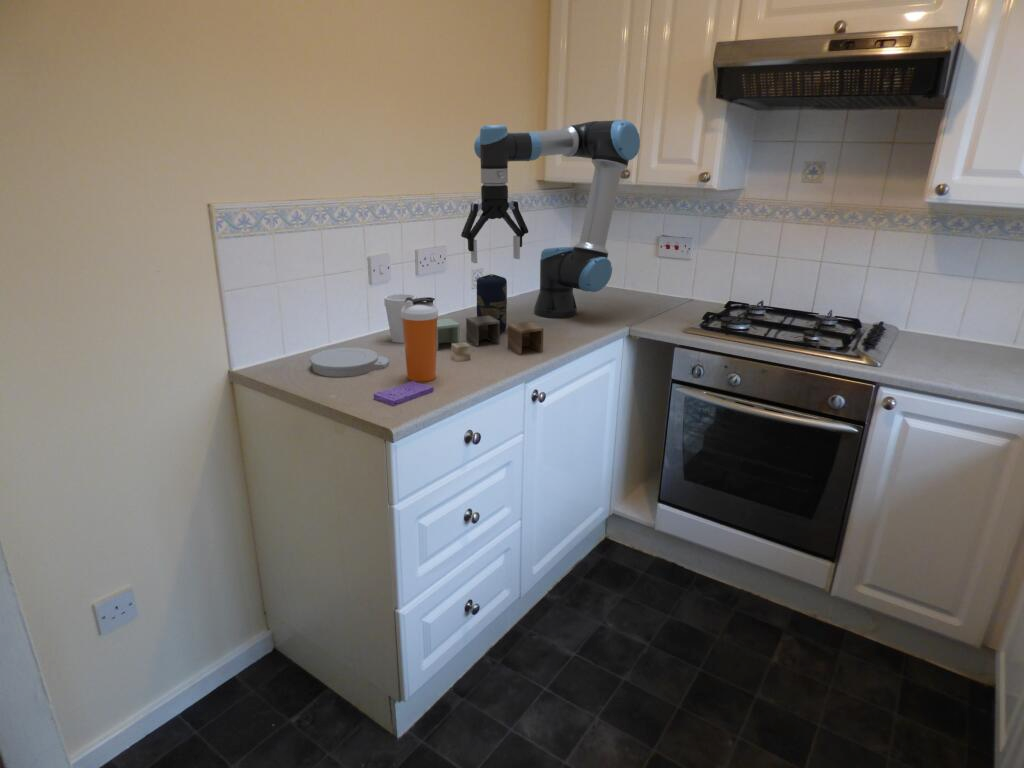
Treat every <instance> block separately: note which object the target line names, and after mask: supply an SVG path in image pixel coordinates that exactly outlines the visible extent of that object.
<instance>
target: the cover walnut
mask: <svg viewBox="0 0 1024 768" xmlns="http://www.w3.org/2000/svg"><path fill="white" fill-rule="evenodd" d="M526 347H530V348H532V349H534V350H536V351H538V352H539V353H543V351H544V327H542V326H541V325H538V324H537V323H534V322H531V321H528V322H520V323H519V322H517V323H507V349H508V350H510V351H513V352H514V353H515V354H517V355H519V356H521V355H522V354H523V353H522V351H523V350H522V349H523V348H526Z"/></svg>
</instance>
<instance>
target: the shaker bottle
mask: <svg viewBox="0 0 1024 768" xmlns="http://www.w3.org/2000/svg"><path fill="white" fill-rule="evenodd" d="M435 300H436V299H435V297H431V296H430V297H428V296H427V297H426V296H424V297H417V298H416V299H412V298H411V297H407V298H406V299H405V305H404V306H403V308H402V309H401V318H402V322H403V333H404V343H403V344H404V353H405V355H404V356H405V364H406V376H407V379H408V380H409V381H410V382H411V381H415V382H418V383H423V382H430V381H433V380H434V379H436V377H437V351H436V347H437V320H438V319H439V318H438V317H439V309H438V307H437V306H436V305H434V301H435Z"/></svg>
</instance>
